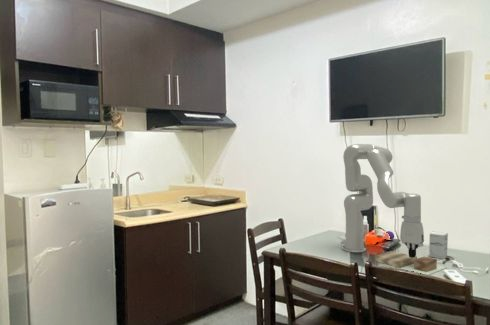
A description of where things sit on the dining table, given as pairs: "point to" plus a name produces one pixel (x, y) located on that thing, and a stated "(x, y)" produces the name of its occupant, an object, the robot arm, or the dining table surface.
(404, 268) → the sage mat
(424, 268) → the brown wooden block
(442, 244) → the supplement box
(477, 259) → the dining table surface
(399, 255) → the birch deck
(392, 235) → the kendama
